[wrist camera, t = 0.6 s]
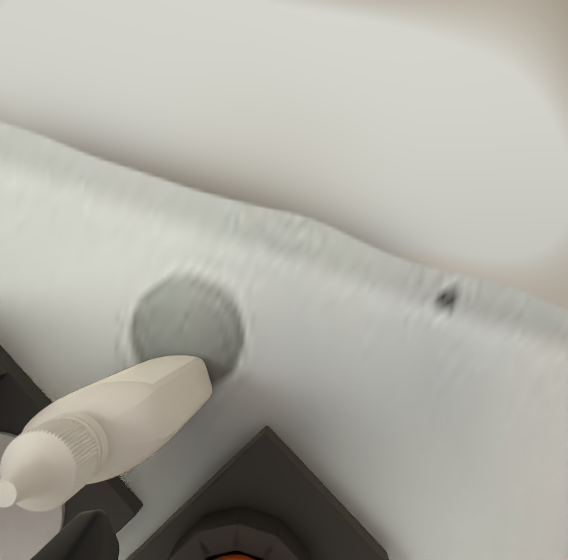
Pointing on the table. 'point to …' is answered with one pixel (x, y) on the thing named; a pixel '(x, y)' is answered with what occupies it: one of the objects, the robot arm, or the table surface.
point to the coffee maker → (45, 525)
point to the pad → (262, 514)
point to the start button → (234, 557)
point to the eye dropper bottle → (101, 431)
